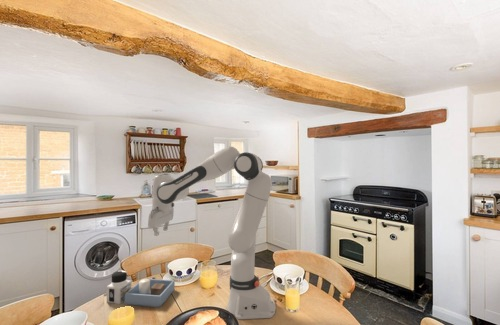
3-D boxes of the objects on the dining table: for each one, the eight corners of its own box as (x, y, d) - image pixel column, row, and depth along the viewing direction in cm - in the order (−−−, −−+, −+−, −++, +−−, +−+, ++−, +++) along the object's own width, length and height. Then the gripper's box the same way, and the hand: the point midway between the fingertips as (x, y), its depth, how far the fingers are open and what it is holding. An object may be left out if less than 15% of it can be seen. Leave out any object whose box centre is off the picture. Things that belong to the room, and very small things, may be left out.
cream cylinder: (151, 292, 123) (151, 279, 123) (146, 298, 118) (146, 283, 118) (142, 292, 124) (142, 278, 124) (136, 297, 119) (136, 283, 119)
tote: (174, 289, 127) (174, 280, 128) (160, 307, 112) (160, 296, 112) (143, 287, 129) (143, 278, 130) (124, 304, 114) (124, 293, 114)
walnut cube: (164, 293, 123) (164, 283, 123) (160, 299, 118) (160, 288, 118) (155, 293, 123) (155, 283, 123) (150, 298, 118) (150, 288, 118)
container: (120, 304, 114) (120, 276, 114) (106, 302, 116) (106, 275, 116) (131, 295, 122) (131, 269, 122) (118, 293, 123) (118, 268, 123)
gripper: (157, 209, 113) (157, 239, 113) (175, 202, 134) (175, 227, 133) (144, 209, 114) (144, 238, 114) (164, 202, 134) (164, 227, 134)
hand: (161, 232), depth 124 cm, fingers open, 8 cm apart
